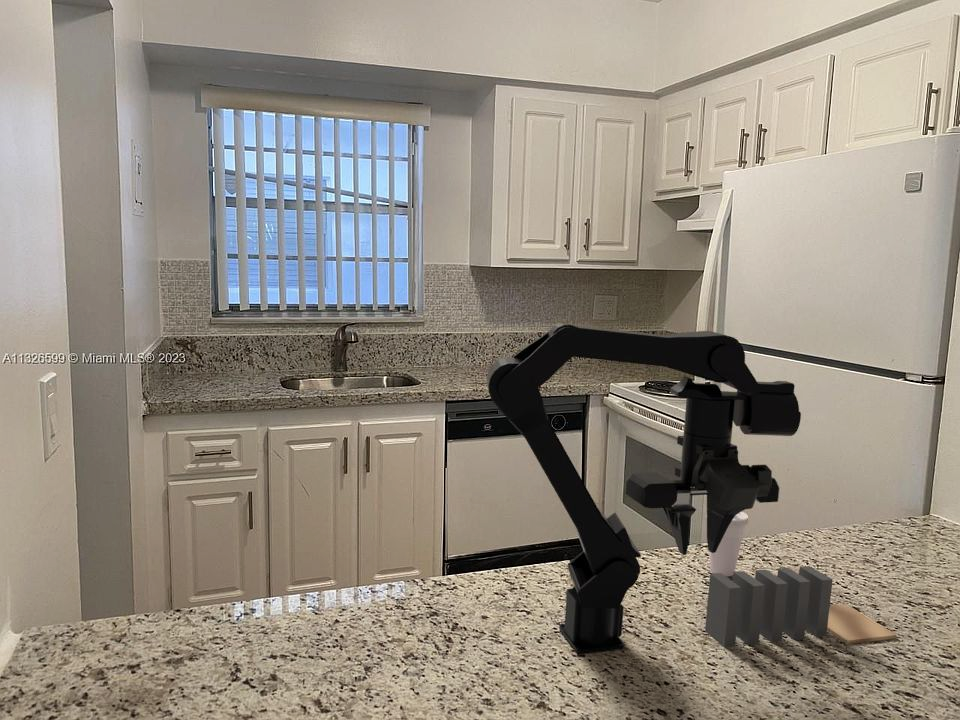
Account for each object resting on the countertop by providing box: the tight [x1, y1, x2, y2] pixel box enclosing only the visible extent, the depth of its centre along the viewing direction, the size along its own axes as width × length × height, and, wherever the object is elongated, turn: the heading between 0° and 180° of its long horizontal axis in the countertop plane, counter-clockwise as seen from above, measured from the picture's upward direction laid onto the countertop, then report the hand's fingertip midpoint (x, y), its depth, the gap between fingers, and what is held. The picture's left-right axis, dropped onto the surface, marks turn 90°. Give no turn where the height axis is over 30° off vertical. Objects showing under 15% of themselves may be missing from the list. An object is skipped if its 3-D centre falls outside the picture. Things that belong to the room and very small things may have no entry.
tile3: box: [754, 568, 788, 644], centre depth 96 cm, size 2×4×8 cm, turn 15°
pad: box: [827, 603, 897, 645], centre depth 100 cm, size 8×9×1 cm
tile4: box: [776, 567, 811, 641], centre depth 97 cm, size 2×4×8 cm, turn 15°
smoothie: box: [705, 511, 749, 577], centre depth 116 cm, size 6×6×14 cm
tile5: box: [798, 565, 834, 638], centre depth 98 cm, size 2×4×8 cm, turn 15°
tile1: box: [704, 573, 741, 649], centre depth 94 cm, size 2×4×8 cm, turn 15°
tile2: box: [732, 570, 765, 646], centre depth 95 cm, size 2×4×8 cm, turn 15°
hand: (697, 552), depth 92 cm, fingers open, 4 cm apart
